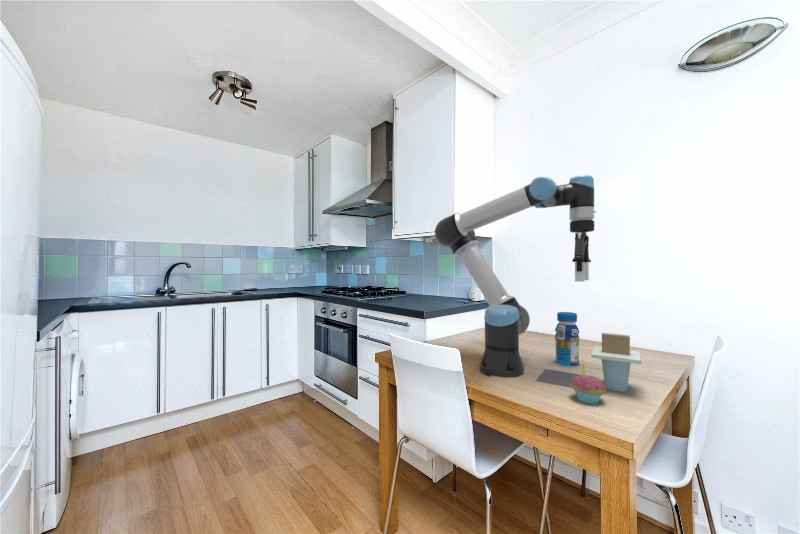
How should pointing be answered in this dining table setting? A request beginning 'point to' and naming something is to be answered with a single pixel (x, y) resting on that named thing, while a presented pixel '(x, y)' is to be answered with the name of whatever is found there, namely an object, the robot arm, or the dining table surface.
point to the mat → (556, 377)
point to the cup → (616, 375)
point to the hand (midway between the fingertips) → (582, 280)
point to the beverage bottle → (567, 340)
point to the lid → (616, 349)
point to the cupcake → (587, 387)
